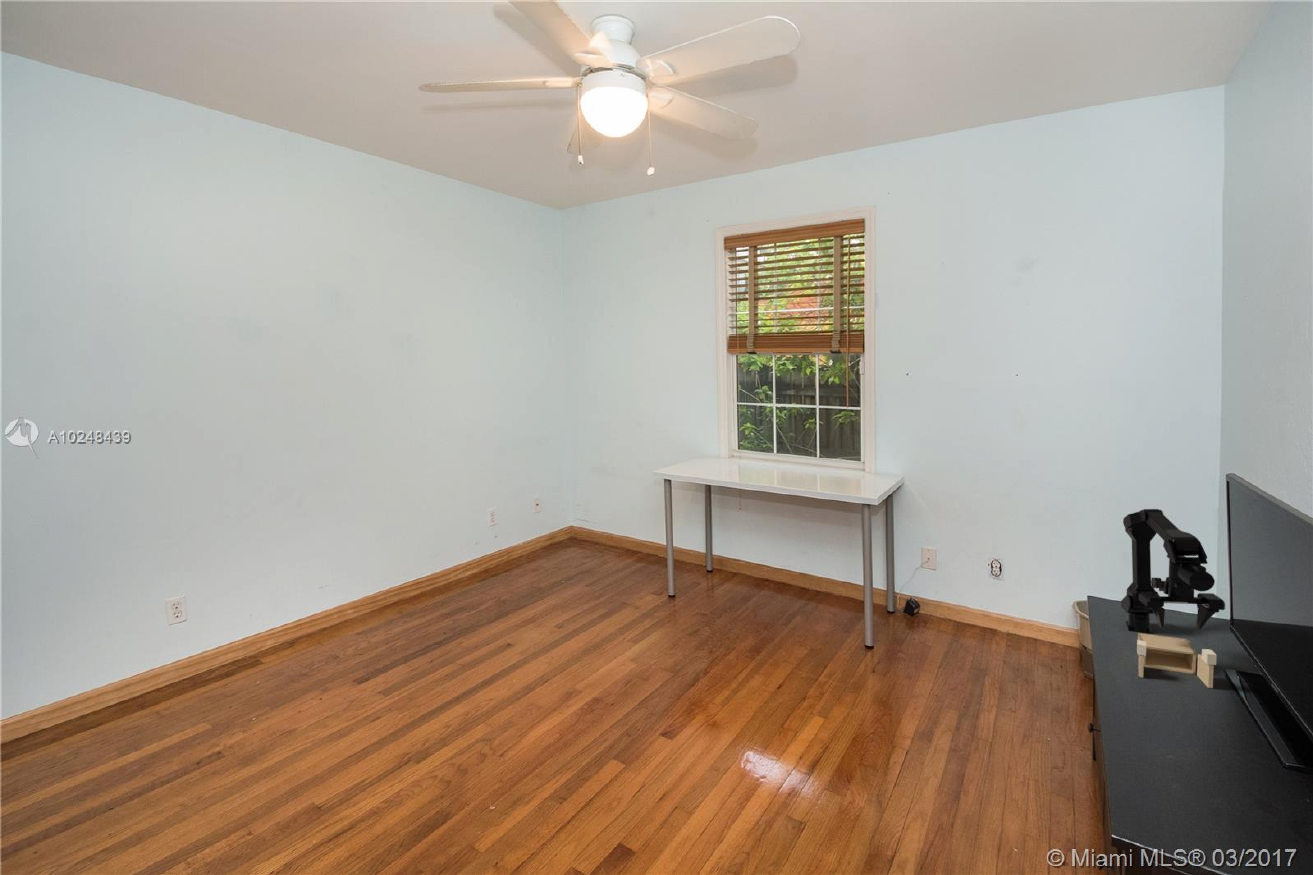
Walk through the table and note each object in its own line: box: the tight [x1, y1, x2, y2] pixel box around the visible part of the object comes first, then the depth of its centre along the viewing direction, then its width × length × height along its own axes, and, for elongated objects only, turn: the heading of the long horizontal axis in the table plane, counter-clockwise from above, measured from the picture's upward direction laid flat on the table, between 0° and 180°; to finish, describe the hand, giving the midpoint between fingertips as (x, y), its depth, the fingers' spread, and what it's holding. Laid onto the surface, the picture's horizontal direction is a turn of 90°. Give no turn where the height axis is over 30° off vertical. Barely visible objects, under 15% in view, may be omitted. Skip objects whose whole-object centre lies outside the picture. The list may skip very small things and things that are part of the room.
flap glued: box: [1136, 639, 1146, 678], centre depth 176 cm, size 2×6×10 cm, turn 142°
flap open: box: [1196, 648, 1217, 689], centre depth 169 cm, size 2×6×10 cm, turn 159°
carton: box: [1137, 632, 1197, 675], centre depth 180 cm, size 9×12×7 cm
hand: (1179, 627), depth 177 cm, fingers open, 9 cm apart
